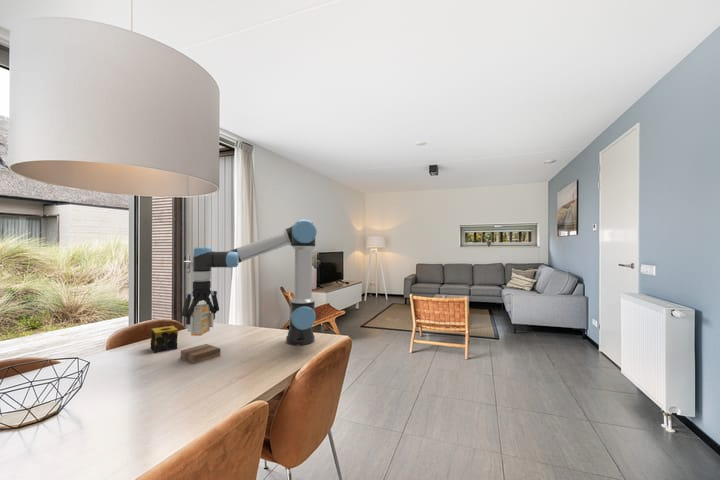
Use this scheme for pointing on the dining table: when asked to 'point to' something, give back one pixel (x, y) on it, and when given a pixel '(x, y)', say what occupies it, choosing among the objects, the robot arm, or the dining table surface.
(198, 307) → the supplement box
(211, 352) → the walnut block
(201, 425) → the dining table surface
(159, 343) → the black and yellow box
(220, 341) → the dining table surface
